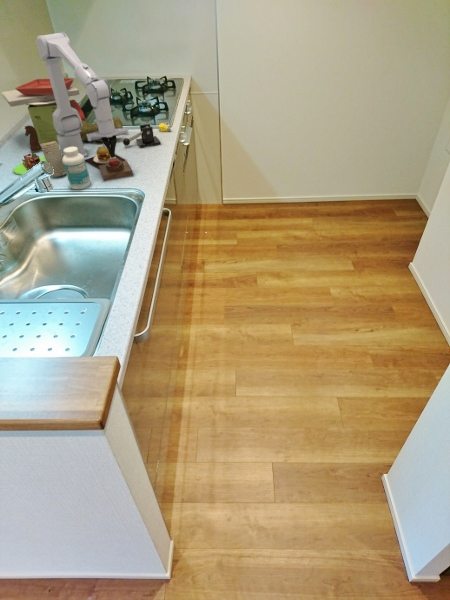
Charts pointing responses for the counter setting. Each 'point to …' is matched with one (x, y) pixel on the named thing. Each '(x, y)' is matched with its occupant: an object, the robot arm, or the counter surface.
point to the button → (113, 161)
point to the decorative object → (77, 107)
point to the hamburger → (101, 157)
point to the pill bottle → (76, 168)
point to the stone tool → (96, 128)
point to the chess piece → (33, 138)
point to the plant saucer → (40, 87)
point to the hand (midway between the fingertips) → (112, 156)
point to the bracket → (147, 137)
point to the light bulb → (163, 127)
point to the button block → (115, 170)
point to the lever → (132, 138)
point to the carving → (54, 157)
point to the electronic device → (32, 97)
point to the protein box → (44, 122)
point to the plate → (43, 103)
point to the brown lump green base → (28, 163)
